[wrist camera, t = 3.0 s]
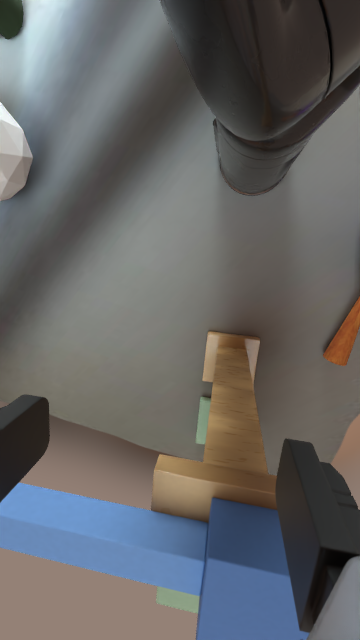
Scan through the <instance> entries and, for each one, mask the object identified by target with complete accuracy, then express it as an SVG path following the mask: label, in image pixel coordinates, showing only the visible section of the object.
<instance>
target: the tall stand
mask: <svg viewBox="0 0 360 640" xmlns="http://www.w3.org/2000/svg"><path fill="white" fill-rule="evenodd" d="M259 345H260V339H259V337H251V336H243V335H235V334H227V333H219V332H211V331H208V335H207V344H206V353H205V362H204V371H203V380H202V381H207V382H213V386H212V394H211V402H210V410H209V418H208V426H207V434H206V442H205V450H204V458H203V462H199V461H193V460H188V459H183V458H177V457H172V456H166V455H159V457H158V460H157V463H156V466H155V469H154V476H153V489H152V503H151V511H155V512H160V513H165V514H170V515H174V516H179V517H184V518H189V519H193V520H198V521H203V522H207V523H208V522H209V515H210V507H211V500H212V498H218V499H223V500H228V501H233V502H238V503H243V504H248V505H253V506H258V507H263V508H269V509H274V510H277V505H276V497H275V488H276V479H277V476H275V475H269V474H268V470H267V464H266V458H265V452H264V447H263V441H262V435H261V429H260V423H259V418H258V412H257V406H256V400H255V394H254V389H253V383H254V377H255V370H256V364H257V357H258V351H259Z"/></svg>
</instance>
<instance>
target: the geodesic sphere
mask: <svg viewBox="0 0 360 640" xmlns="http://www.w3.org/2000/svg"><path fill="white" fill-rule="evenodd" d="M32 159H33V156H32V153H31V151H30V148H29V145H28V142H27V140H26V137H25V134H24V132H23V129H22V128H21V127H20V126H19V124H18V123H17V122H16V121H15V119H14V118H13V117H12V116H11V115H10V113H9V112H8V111H7V110H6V108H5V107H4V106H3V105H2V104H1V102H0V201H2V200H7V199H10V198H11V197H12V196H14V195H15V194H16V193H17V192H18V191H19V190H20V189H22V188H23V187H24V186H25V184H26V180H27V177H28V173H29V170H30V166H31V163H32Z"/></svg>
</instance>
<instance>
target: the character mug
mask: <svg viewBox="0 0 360 640" xmlns="http://www.w3.org/2000/svg"><path fill="white" fill-rule="evenodd" d="M22 22H23V6H22V0H0V33H1V34H2V35H3V36H4V37H5V38H6V39H10V38H12V37H14V36H16V35H17V33H18V32H19V30H20V29H21V27H22Z"/></svg>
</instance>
